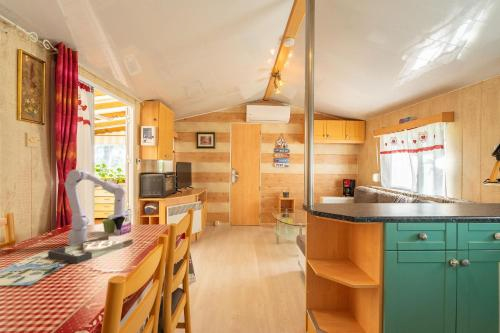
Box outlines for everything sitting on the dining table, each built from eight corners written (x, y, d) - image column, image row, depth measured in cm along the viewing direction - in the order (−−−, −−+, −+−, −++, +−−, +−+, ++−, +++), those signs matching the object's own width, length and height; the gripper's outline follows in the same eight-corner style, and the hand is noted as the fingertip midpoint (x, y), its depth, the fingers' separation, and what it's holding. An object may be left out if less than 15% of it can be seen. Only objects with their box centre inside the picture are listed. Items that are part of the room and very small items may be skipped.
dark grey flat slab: (48, 257, 132) (48, 251, 132) (63, 252, 139) (63, 247, 139) (77, 263, 125) (77, 257, 125) (91, 258, 132) (91, 252, 132)
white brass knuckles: (77, 254, 139) (86, 246, 153) (115, 252, 144) (120, 244, 158) (77, 248, 139) (86, 240, 153) (115, 246, 144) (120, 239, 158)
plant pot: (112, 234, 179) (112, 221, 179) (98, 233, 179) (99, 221, 179) (119, 230, 188) (119, 218, 188) (106, 230, 188) (106, 218, 189)
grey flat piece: (63, 252, 139) (63, 247, 139) (107, 240, 165) (107, 235, 165) (91, 258, 132) (91, 252, 132) (132, 244, 158) (132, 239, 158)
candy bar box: (124, 231, 188) (125, 208, 188) (131, 231, 187) (131, 208, 187) (113, 234, 177) (114, 210, 177) (120, 235, 176) (121, 211, 176)
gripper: (114, 209, 152) (113, 232, 152) (133, 206, 166) (132, 227, 166) (105, 208, 154) (104, 231, 154) (124, 205, 168) (124, 226, 168)
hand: (118, 229), depth 160 cm, fingers closed
